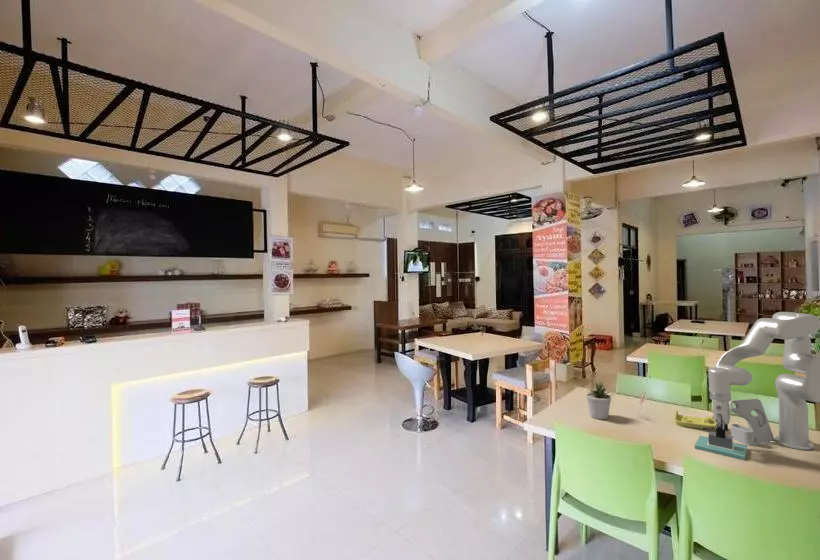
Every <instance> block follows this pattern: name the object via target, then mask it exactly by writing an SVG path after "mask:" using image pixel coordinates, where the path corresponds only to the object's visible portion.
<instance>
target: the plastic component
mask: <svg viewBox="0 0 820 560" xmlns="http://www.w3.org/2000/svg"><path fill="white" fill-rule="evenodd" d="M678 411H679V410H675V412H674V418H673V419H674V422H675V425H677V426H679V427H684V426H685V428H691V429H692V428H693V429H699V430H703V429H704V428H708V429H710V428H711V429H710V430H713V429H714V430H713V431H716V422H715V421H714V415H713V416H710V415H709V416H704V417H700V416H699V417H698V416H691V415H683V414H682V415H681V414H679V413H678Z"/></svg>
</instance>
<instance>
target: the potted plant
mask: <svg viewBox="0 0 820 560" xmlns="http://www.w3.org/2000/svg"><path fill="white" fill-rule="evenodd" d="M594 381H595V382H593V386H594V387H595V390H593V389H591V388H589V389H587V391H589V392H587V394H585V396H586V400H587V406H588V410H589V415H590V416H592V417H591V418H593V419H597V420H606V419H608V417H609V414H610V409H611V408H610V406H611V401H612V396H613V395H614V394H609V392H610V391H608V392H606V390H607V389H608V384H606V385H605V386H604V383H603V382H604V381H603V379H602V382H601V381H599V382H597V381H596V379H595V380H594Z"/></svg>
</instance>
